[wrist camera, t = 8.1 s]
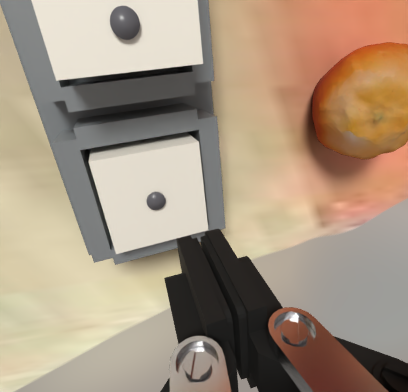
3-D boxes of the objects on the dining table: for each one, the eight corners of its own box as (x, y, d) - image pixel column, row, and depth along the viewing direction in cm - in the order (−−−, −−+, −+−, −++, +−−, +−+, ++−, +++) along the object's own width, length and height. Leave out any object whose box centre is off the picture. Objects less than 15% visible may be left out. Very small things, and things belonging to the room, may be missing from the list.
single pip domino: (182, 128, 19) (199, 142, 16) (192, 204, 22) (209, 231, 18) (92, 143, 18) (88, 163, 14) (114, 222, 21) (116, 256, 17)
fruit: (404, 119, 25) (448, 158, 19) (312, 138, 28) (323, 178, 22) (408, 19, 21) (465, 27, 15) (300, 53, 24) (310, 71, 18)
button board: (159, -445, 11) (186, -717, 7) (217, 214, 25) (237, 241, 21) (-187, -554, 9) (-423, -1054, 5) (89, 246, 23) (86, 283, 19)
